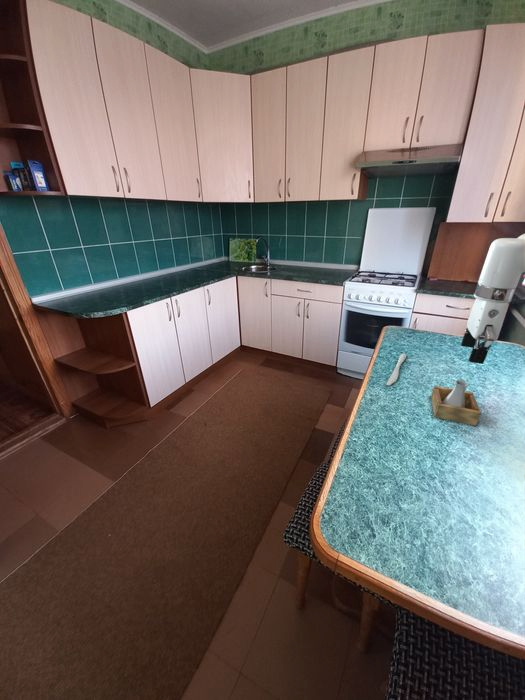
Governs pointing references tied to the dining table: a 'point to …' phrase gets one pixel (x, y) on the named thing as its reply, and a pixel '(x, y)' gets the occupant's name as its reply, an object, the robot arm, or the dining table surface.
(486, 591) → the dining table surface
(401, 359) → the butter knife
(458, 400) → the flask
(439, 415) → the square wooden frame
